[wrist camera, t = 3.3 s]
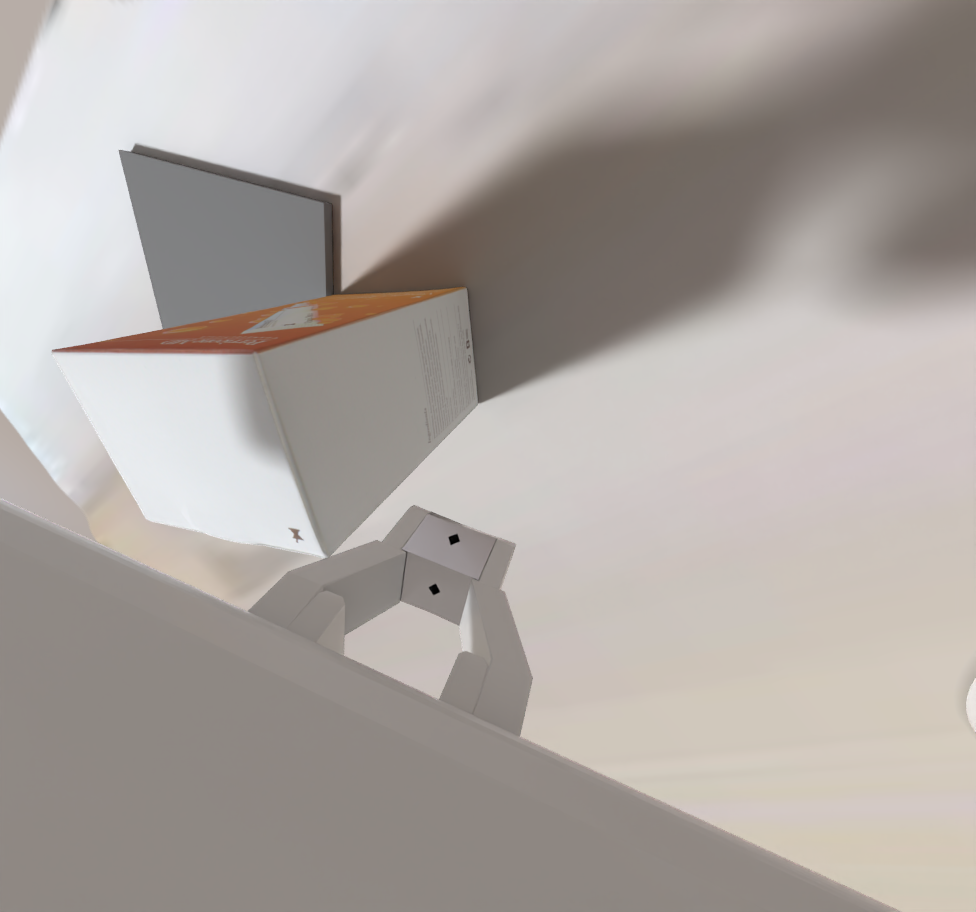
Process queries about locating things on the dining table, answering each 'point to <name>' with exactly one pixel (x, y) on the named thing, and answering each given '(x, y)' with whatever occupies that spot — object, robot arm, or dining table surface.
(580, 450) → the dining table surface
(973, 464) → the dining table surface
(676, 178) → the dining table surface
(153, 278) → the mat
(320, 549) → the small box
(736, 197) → the dining table surface
